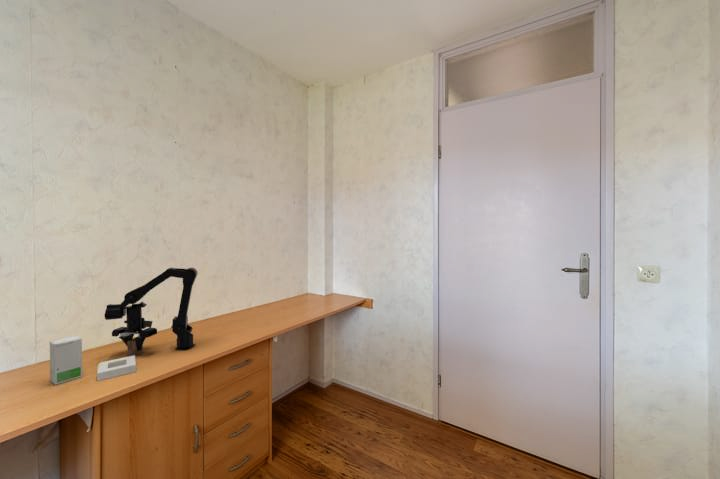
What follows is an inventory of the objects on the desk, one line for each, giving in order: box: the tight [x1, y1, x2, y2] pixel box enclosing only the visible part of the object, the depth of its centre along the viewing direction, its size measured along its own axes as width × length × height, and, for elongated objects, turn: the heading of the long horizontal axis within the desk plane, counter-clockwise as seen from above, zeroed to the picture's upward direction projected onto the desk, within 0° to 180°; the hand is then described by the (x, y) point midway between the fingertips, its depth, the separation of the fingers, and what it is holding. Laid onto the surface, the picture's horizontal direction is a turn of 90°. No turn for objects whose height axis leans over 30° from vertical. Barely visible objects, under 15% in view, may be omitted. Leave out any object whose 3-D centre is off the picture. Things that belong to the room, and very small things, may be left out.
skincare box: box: [49, 335, 83, 386], centre depth 118 cm, size 8×7×16 cm
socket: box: [96, 355, 137, 382], centre depth 124 cm, size 12×12×3 cm
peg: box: [126, 337, 144, 357], centre depth 141 cm, size 4×4×7 cm
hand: (135, 350), depth 141 cm, fingers open, 4 cm apart
